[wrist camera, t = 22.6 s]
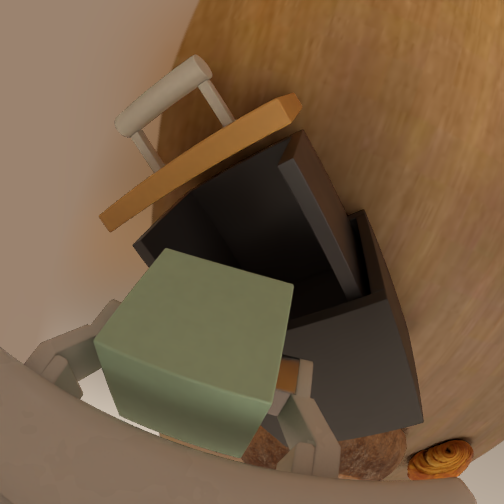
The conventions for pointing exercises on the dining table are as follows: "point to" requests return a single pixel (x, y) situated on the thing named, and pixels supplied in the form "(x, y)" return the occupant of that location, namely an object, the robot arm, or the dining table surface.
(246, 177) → the drawer
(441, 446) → the croissant
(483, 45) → the dining table surface
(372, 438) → the bread
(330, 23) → the dining table surface
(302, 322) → the cabinet
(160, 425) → the block
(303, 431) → the robot arm
